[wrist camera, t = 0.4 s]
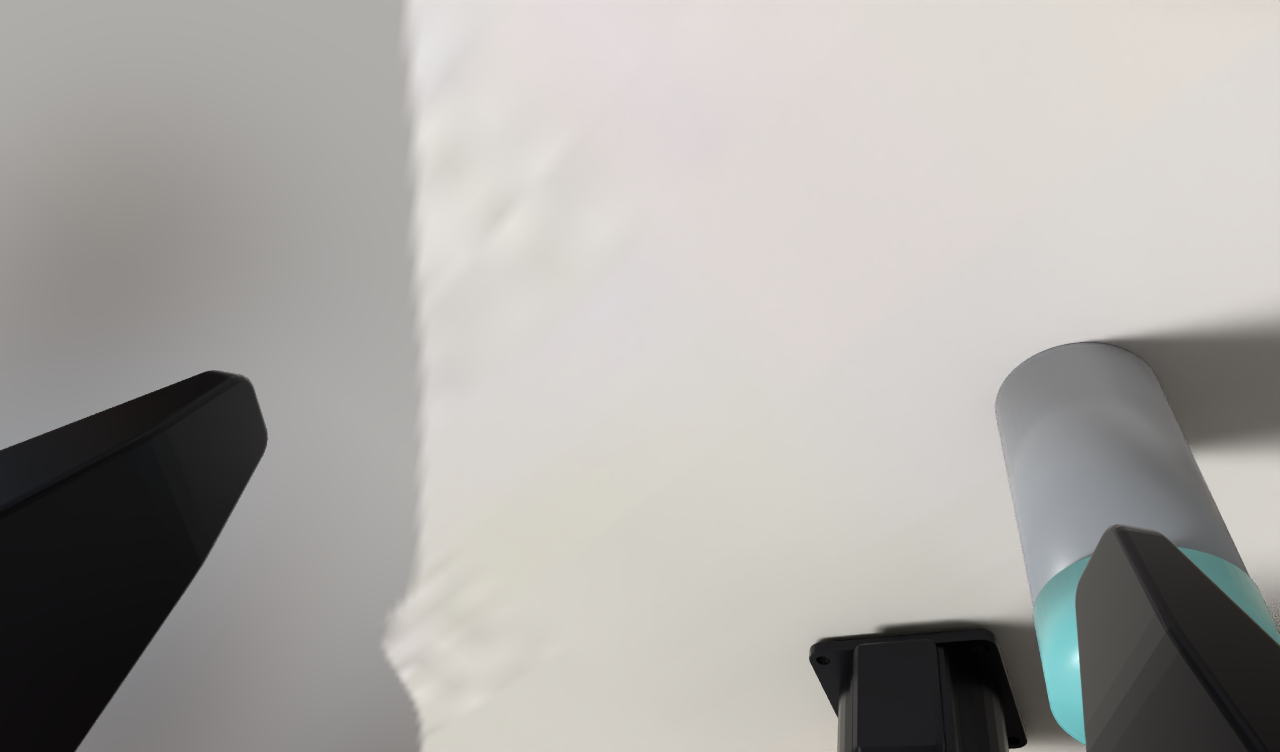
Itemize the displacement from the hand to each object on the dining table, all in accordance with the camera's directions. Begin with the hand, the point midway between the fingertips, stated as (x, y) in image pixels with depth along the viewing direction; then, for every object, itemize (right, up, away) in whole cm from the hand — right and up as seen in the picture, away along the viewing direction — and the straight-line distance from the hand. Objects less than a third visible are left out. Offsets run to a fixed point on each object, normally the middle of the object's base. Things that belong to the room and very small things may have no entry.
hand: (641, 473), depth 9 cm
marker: (+12, 0, +14) cm, 18 cm away
